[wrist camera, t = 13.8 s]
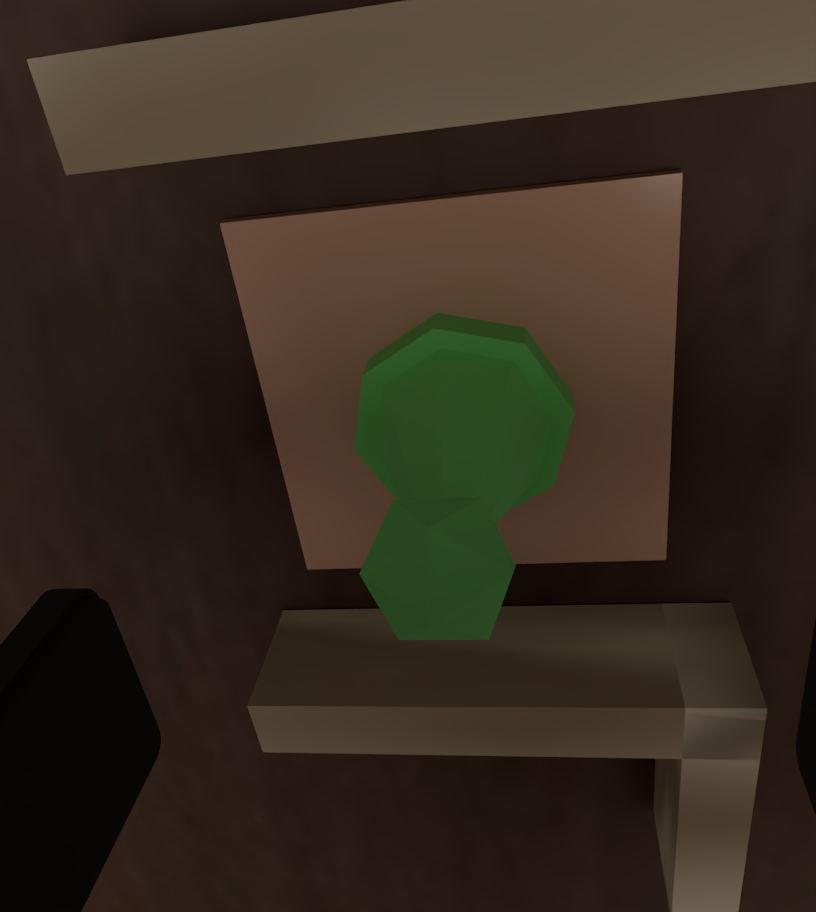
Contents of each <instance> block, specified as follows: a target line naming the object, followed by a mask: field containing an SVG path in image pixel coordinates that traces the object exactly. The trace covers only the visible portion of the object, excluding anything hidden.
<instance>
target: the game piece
mask: <svg viewBox="0 0 816 912" xmlns="http://www.w3.org/2000/svg"><path fill="white" fill-rule="evenodd" d="M574 414H575V411H574V403H573V395H572V393H571V392H570V390H569V389H568V387H567V386H566V385H565V383H564V382H563V380H562V379H561V378H560V376H559V375H558V373H557V372H556V371H555V369H554V368H553V366H552V365H551V363H550V362H549V361H548V359H547V358H546V356H545V355H544V354H543V352H542V351H541V349H540V348H539V346H538V345H537V344H536V342H535V341H534V339H533V338H532V337H531V335H530V334H529V332H528V331H527V330H526V328H523V327H517V326H511V325H506V324H500V323H494V322H488V321H483V320H477V319H471V318H465V317H460V316H454V315H448V314H442V313H436V314H435V315H433V316H432V317H430V318H429V319H427V320H426V321H424V322H423V323H421V324H420V325H418V326H417V327H415V328H414V329H412V330H411V331H409V332H408V333H406V334H405V335H403V336H402V337H400V338H399V339H397V340H396V341H394V342H393V343H391V344H390V345H389V346H387V347H386V348H384V349H383V350H381V351H380V352H378V353H377V354H375V355H374V356H372V357H371V358H369V360H368V362H367V365H366V367H365V370H364V372H363V375H362V382H361V391H360V400H359V409H358V417H357V426H356V435H355V444H354V451H355V452H356V453H357V454H358V456H359V457H360V458H361V459H362V460H363V461H364V463H365V464H366V465H367V466H368V467H369V468H370V469H371V471H372V472H373V473H374V474H375V475H376V476H377V477H378V479H379V480H380V481H381V482H382V483H383V484H384V485H385V487H386V488H387V489H388V490H389V491H390V492H391V494H392V495H393V496H394V497H395V498H396V499H397V500H392V502H391V504H390V507H389V509H388V511H387V513H386V516H385V518H384V520H383V522H382V524H381V527H380V529H379V531H378V533H377V535H376V538H375V540H374V542H373V544H372V547H371V549H370V551H369V553H368V555H367V558H366V560H365V562H364V564H363V566H362V569H361V571H360V573H359V575H360V576H361V578H362V580H363V581H364V583H365V585H366V586H367V588H368V590H369V591H370V593H371V595H372V596H373V598H374V600H375V601H376V603H377V605H378V606H379V608H380V610H381V611H382V613H383V615H384V616H385V618H386V620H387V621H388V623H389V625H390V626H391V628H392V630H393V631H394V633H395V635H396V636H397V638H398V640H489V639H490V636H491V633H492V630H493V628H494V625H495V622H496V619H497V617H498V614H499V611H500V608H501V606H502V603H503V600H504V597H505V595H506V592H507V589H508V586H509V583H510V581H511V578H512V575H513V572H514V570H515V567H516V565H515V563H514V560H513V558H512V556H511V554H510V552H509V550H508V548H507V546H506V544H505V542H504V540H503V538H502V536H501V533H500V531H499V529H498V527H497V525H496V524H497V523H498V521H499V520H500V519H501V518H502V517H503V516H504V514H505V513H506V512H507V511H508V510H510V509H511V508H513V507H515V506H517V505H519V504H521V503H523V502H525V501H527V500H529V499H531V498H533V497H534V496H536V495H538V494H540V493H542V492H544V491H546V490H548V489H550V488H552V487H554V484H555V481H556V477H557V474H558V470H559V467H560V463H561V460H562V456H563V453H564V449H565V446H566V442H567V439H568V435H569V432H570V428H571V425H572V421H573V418H574Z"/></svg>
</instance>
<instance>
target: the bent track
mask: <svg viewBox="0 0 816 912" xmlns="http://www.w3.org/2000/svg"><path fill="white" fill-rule="evenodd" d="M27 62H28V65H29V68H30V71H31V74H32V77H33V80H34V83H35V86H36V89H37V91H38V94H39V97H40V100H41V103H42V106H43V109H44V112H45V115H46V118H47V121H48V124H49V127H50V130H51V132H52V135H53V138H54V141H55V144H56V147H57V150H58V153H59V156H60V159H61V162H62V165H63V168H64V171H65V174H66V175H72V174H80V173H88V172H96V171H104V170H112V169H120V168H128V167H136V166H144V165H152V164H160V163H168V162H176V161H184V160H192V159H200V158H208V157H216V156H224V155H232V154H240V153H248V152H256V151H264V150H272V149H280V148H288V147H296V146H304V145H312V144H320V143H328V142H336V141H344V140H352V139H360V138H368V137H376V136H384V135H392V134H400V133H408V132H416V131H424V130H432V129H440V128H448V127H456V126H464V125H472V124H480V123H488V122H496V121H504V120H512V119H520V118H528V117H536V116H544V115H552V114H560V113H568V112H576V111H584V110H592V109H600V108H608V107H616V106H624V105H632V104H640V103H648V102H656V101H664V100H672V99H680V98H688V97H696V96H704V95H712V94H720V93H728V92H736V91H744V90H752V89H760V88H768V87H776V86H784V85H792V84H800V83H808V82H816V0H404V1H397V2H391V3H384V4H378V5H371V6H365V7H358V8H352V9H346V10H339V11H333V12H326V13H320V14H313V15H307V16H300V17H294V18H288V19H281V20H275V21H268V22H262V23H255V24H249V25H242V26H236V27H230V28H223V29H217V30H210V31H204V32H197V33H191V34H184V35H178V36H171V37H165V38H159V39H152V40H146V41H139V42H133V43H126V44H120V45H114V46H107V47H101V48H95V49H89V50H82V51H76V52H70V53H63V54H57V55H51V56H45V57H38V58H32V59H27ZM682 177H683V173H682V171H681V170H680V169H676V170H667V171H657V172H648V173H639V174H630V175H621V176H612V177H603V178H594V179H585V180H576V181H567V182H557V183H548V184H539V185H530V186H521V187H512V188H503V189H494V190H485V191H476V192H467V193H457V194H448V195H439V196H430V197H421V198H412V199H403V200H394V201H385V202H376V203H366V204H357V205H348V206H339V207H330V208H321V209H312V210H303V211H294V212H285V213H276V214H266V215H257V216H248V217H239V218H230V219H224V220H223V221H222V222H221V223H220V227H221V231H222V234H223V238H224V242H225V246H226V250H227V254H228V258H229V262H230V266H231V270H232V274H233V278H234V282H235V286H236V290H237V294H238V298H239V302H240V306H241V310H242V314H243V317H244V321H245V325H246V329H247V333H248V337H249V341H250V345H251V349H252V353H253V357H254V361H255V365H256V369H257V373H258V377H259V381H260V385H261V389H262V393H263V396H264V400H265V404H266V408H267V412H268V416H269V420H270V424H271V428H272V432H273V436H274V440H275V444H276V448H277V452H278V456H279V460H280V464H281V468H282V472H283V475H284V479H285V483H286V487H287V491H288V495H289V499H290V503H291V507H292V511H293V515H294V519H295V523H296V527H297V531H298V535H299V539H300V543H301V547H302V551H303V555H304V558H305V562H306V566H307V570H310V569H348V568H362V566H363V564H364V562H365V560H366V558H367V555H368V553H369V551H370V549H371V547H372V544H373V542H374V540H375V538H376V535H377V533H378V531H379V529H380V527H381V524H382V522H383V520H384V518H385V516H386V513H387V511H388V509H389V507H390V504H391V502H392V500H397V499H396V498H395V497H394V496H393V495H392V494H391V492H390V491H389V490H388V489H387V488H386V487H385V485H384V484H383V483H382V482H381V481H380V480H379V479H378V477H377V476H376V475H375V474H374V473H373V472H372V471H371V469H370V468H369V467H368V466H367V465H366V464H365V463H364V461H363V460H362V459H361V458H360V457H359V456H358V454H357V453H356V452H355V451H354V444H355V435H356V426H357V417H358V409H359V400H360V391H361V382H362V375H363V372H364V370H365V367H366V365H367V362H368V360H369V358H371V357H372V356H374V355H375V354H377V353H378V352H380V351H381V350H383V349H384V348H386V347H387V346H389V345H390V344H391V343H393V342H394V341H396V340H397V339H399V338H400V337H402V336H403V335H405V334H406V333H408V332H409V331H411V330H412V329H414V328H415V327H417V326H418V325H420V324H421V323H423V322H424V321H426V320H427V319H429V318H430V317H432V316H433V315H435V314H436V313H442V314H448V315H454V316H460V317H465V318H471V319H477V320H483V321H488V322H494V323H500V324H506V325H511V326H517V327H523V328H526V330H527V331H528V332H529V334H530V335H531V337H532V338H533V339H534V341H535V342H536V344H537V345H538V346H539V348H540V349H541V351H542V352H543V354H544V355H545V356H546V358H547V359H548V361H549V362H550V363H551V365H552V366H553V368H554V369H555V371H556V372H557V373H558V375H559V376H560V378H561V379H562V380H563V382H564V383H565V385H566V386H567V387H568V389H569V390H570V392H571V393H572V395H573V403H574V411H575V414H574V418H573V421H572V425H571V428H570V432H569V435H568V439H567V442H566V446H565V449H564V453H563V456H562V460H561V463H560V467H559V470H558V474H557V477H556V481H555V484H554V487H552V488H550V489H548V490H546V491H544V492H542V493H540V494H538V495H536V496H534V497H533V498H531V499H529V500H527V501H525V502H523V503H521V504H519V505H517V506H515V507H513V508H511V509H510V510H508V511H507V512H506V513H505V514H504V516H503V517H502V518H501V519H500V520H499V521H498V523H497V524H496V525H497V527H498V529H499V531H500V533H501V536H502V538H503V540H504V542H505V544H506V546H507V548H508V550H509V552H510V554H511V556H512V558H513V560H514V563H515V564H536V563H573V562H611V561H648V560H666V551H667V528H668V504H669V481H670V457H671V434H672V411H673V387H674V364H675V340H676V317H677V294H678V270H679V247H680V223H681V200H682ZM247 707H248V710H249V713H250V716H251V719H252V722H253V725H254V727H255V730H256V733H257V736H258V739H259V742H260V745H261V748H262V751H263V752H275V753H338V754H401V755H464V756H527V757H590V758H653V759H655V783H654V808H653V811H654V817H655V823H656V830H657V836H658V842H659V848H660V855H661V861H662V867H663V873H664V880H665V886H666V892H667V898H668V905H669V911H670V912H738V911H739V904H740V897H741V890H742V883H743V876H744V869H745V862H746V855H747V848H748V841H749V834H750V827H751V820H752V813H753V806H754V799H755V792H756V785H757V778H758V771H759V764H760V757H761V750H762V743H763V736H764V729H765V722H766V715H767V706H766V703H765V700H764V697H763V694H762V691H761V688H760V685H759V682H758V679H757V676H756V673H755V670H754V667H753V664H752V662H751V659H750V656H749V653H748V650H747V647H746V644H745V641H744V638H743V635H742V632H741V629H740V626H739V623H738V620H737V617H736V614H735V611H734V608H733V605H732V603H731V602H730V603H672V604H615V605H557V606H501V608H500V611H499V614H498V617H497V619H496V622H495V625H494V628H493V630H492V633H491V636H490V639H489V640H398V638H397V636H396V635H395V633H394V631H393V630H392V628H391V626H390V625H389V623H388V621H387V620H386V618H385V616H384V615H383V613H382V611H381V610H380V609H326V610H283V612H282V615H281V618H280V620H279V623H278V626H277V628H276V631H275V633H274V636H273V639H272V641H271V644H270V647H269V649H268V652H267V655H266V657H265V660H264V663H263V665H262V668H261V671H260V673H259V676H258V679H257V681H256V684H255V686H254V689H253V692H252V694H251V697H250V700H249V702H248V705H247Z"/></svg>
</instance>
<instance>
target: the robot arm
mask: <svg viewBox="0 0 816 912" xmlns="http://www.w3.org/2000/svg"><path fill="white" fill-rule="evenodd" d="M160 743H161V736H160V730H159V727H158V725H157V722H156V720H155V717H154V715H153V712H152V710H151V708H150V705H149V703H148V700H147V698H146V695H145V693H144V690H143V688H142V685H141V683H140V680H139V678H138V675H137V673H136V670H135V668H134V665H133V663H132V660H131V658H130V655H129V653H128V651H127V648H126V646H125V643H124V641H123V638H122V636H121V633H120V631H119V628H118V626H117V623H116V621H115V618H114V616H113V613H112V611H111V608H110V606H109V604H108V603H107V602H106V601H105V600H104V599H100V598H99V597H98V595H97V593H96V592H94V591H93V590H92V589H52V590H49V591H46V592H45V593H44V594H43V595H42V596H41V597H40V598H39V599H38V600H37V602H36V603H35V604H34V605H33V606H32V608H31V609H30V610H29V611H28V613H27V614H26V615H25V616H24V617H23V619H22V620H21V621H20V622H19V623H18V625H17V626H16V627H15V628H14V629H13V631H12V632H11V633H10V634H9V636H8V637H7V638H6V639H5V640H4V642H3V643H2V644H1V645H0V912H81V911H82V909H83V907H84V905H85V903H86V901H87V899H88V897H89V895H90V893H91V891H92V889H93V887H94V885H95V882H96V880H97V878H98V876H99V874H100V872H101V870H102V868H103V866H104V864H105V862H106V860H107V858H108V856H109V854H110V852H111V850H112V848H113V846H114V844H115V842H116V840H117V838H118V836H119V834H120V832H121V830H122V828H123V826H124V824H125V822H126V820H127V818H128V816H129V814H130V812H131V810H132V808H133V805H134V803H135V801H136V799H137V797H138V795H139V793H140V791H141V789H142V787H143V785H144V783H145V781H146V779H147V777H148V775H149V773H150V771H151V769H152V767H153V765H154V763H155V761H156V759H157V756H158V754H159V750H160ZM796 752H797V760H798V764H799V768H800V772H801V775H802V778H803V780H804V783H805V786H806V789H807V792H808V794H809V797H810V800H811V803H812V806H813V808H814V811H815V814H816V619H815V625H814V632H813V638H812V644H811V651H810V657H809V663H808V669H807V676H806V682H805V688H804V695H803V701H802V707H801V714H800V720H799V726H798V733H797V740H796Z"/></svg>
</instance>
